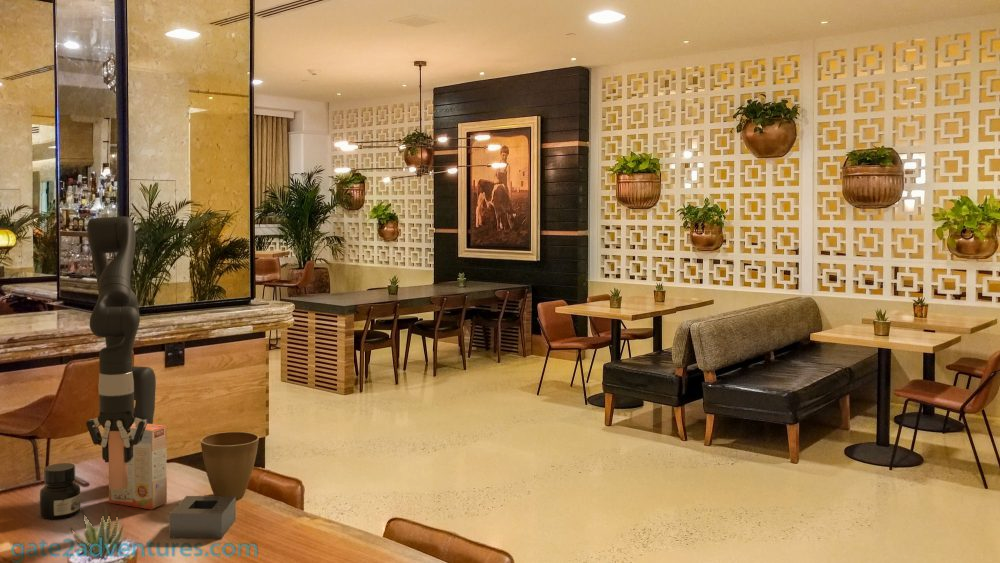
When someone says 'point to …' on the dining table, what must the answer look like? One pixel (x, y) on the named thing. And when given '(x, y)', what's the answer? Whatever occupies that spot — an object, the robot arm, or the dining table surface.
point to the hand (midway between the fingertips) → (117, 461)
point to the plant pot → (229, 461)
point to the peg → (117, 461)
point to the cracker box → (145, 471)
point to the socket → (203, 517)
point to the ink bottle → (59, 492)
